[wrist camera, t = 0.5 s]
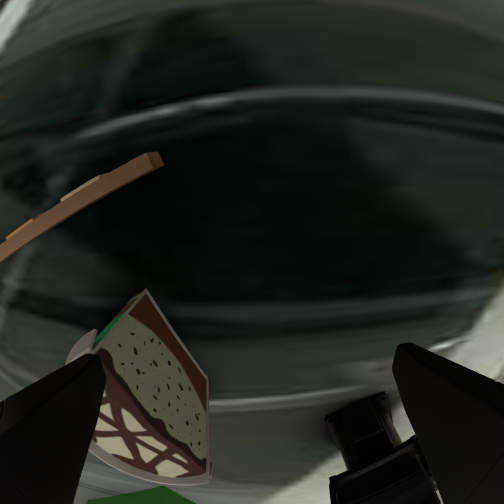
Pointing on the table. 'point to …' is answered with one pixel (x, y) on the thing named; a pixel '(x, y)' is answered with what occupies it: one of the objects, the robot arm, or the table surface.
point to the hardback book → (145, 497)
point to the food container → (150, 398)
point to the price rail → (80, 201)
